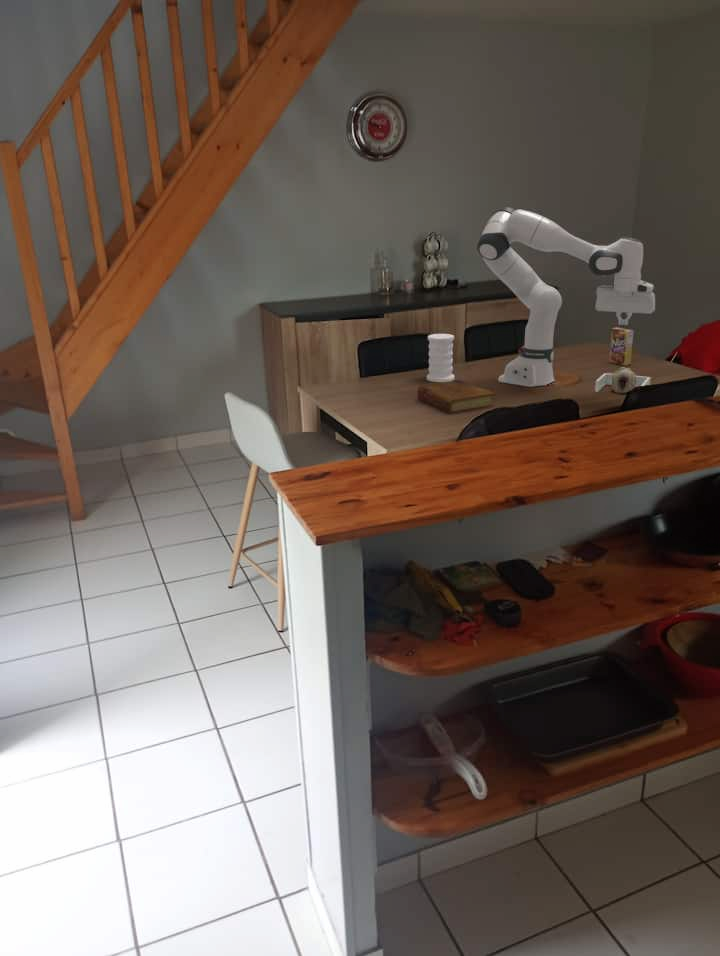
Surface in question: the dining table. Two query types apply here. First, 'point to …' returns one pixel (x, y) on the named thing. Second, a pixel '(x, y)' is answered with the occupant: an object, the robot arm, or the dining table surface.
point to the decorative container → (440, 358)
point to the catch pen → (607, 380)
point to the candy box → (621, 346)
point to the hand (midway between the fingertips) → (622, 324)
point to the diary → (455, 396)
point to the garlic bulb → (623, 380)
